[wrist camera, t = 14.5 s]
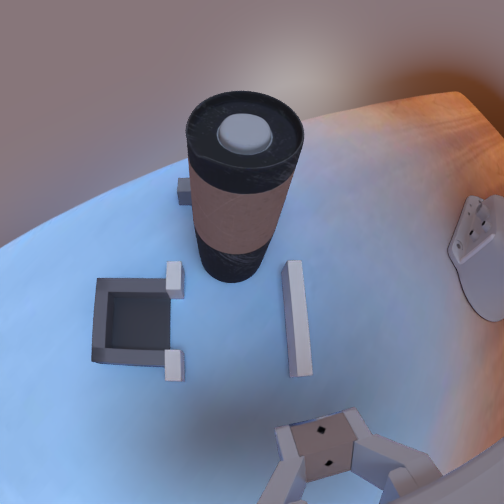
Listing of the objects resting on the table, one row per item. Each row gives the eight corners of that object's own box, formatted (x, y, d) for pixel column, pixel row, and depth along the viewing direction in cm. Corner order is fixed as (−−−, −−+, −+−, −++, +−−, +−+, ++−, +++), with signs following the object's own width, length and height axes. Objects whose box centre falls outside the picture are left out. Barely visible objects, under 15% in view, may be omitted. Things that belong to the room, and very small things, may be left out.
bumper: (180, 192, 39) (178, 178, 37) (280, 192, 41) (285, 179, 38) (179, 205, 39) (177, 191, 36) (282, 205, 40) (287, 192, 37)
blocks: (171, 273, 35) (167, 261, 32) (293, 271, 37) (301, 260, 33) (170, 381, 30) (165, 380, 27) (303, 376, 32) (312, 374, 29)
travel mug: (271, 236, 38) (315, 107, 20) (253, 294, 35) (292, 188, 17) (211, 217, 38) (211, 80, 20) (188, 273, 35) (163, 151, 17)
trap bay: (104, 285, 33) (97, 278, 31) (171, 286, 34) (167, 278, 32) (99, 363, 30) (91, 361, 28) (170, 367, 31) (166, 365, 28)
